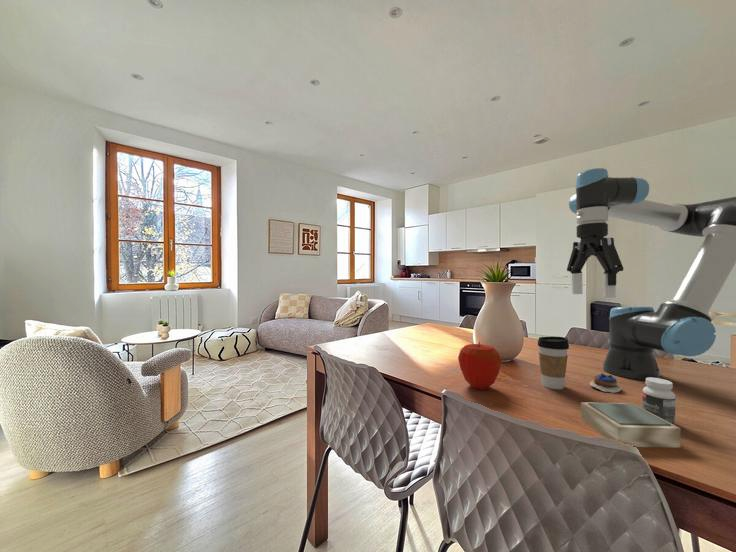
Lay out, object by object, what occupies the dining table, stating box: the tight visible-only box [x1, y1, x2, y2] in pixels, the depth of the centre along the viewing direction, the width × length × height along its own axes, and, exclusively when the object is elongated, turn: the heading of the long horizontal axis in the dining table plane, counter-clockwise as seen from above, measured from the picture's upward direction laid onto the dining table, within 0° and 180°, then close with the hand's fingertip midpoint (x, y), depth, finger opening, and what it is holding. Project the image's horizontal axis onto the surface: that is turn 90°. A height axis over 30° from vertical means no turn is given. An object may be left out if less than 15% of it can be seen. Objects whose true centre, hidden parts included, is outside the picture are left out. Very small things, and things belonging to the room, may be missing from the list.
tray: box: [580, 401, 682, 449], centre depth 69 cm, size 12×12×4 cm
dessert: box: [589, 372, 622, 394], centre depth 94 cm, size 8×7×6 cm
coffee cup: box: [537, 336, 570, 390], centre depth 97 cm, size 8×8×15 cm
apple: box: [457, 341, 502, 391], centre depth 96 cm, size 12×12×14 cm
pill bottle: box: [641, 377, 676, 426], centre depth 73 cm, size 6×6×10 cm
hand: (592, 295), depth 92 cm, fingers open, 13 cm apart
